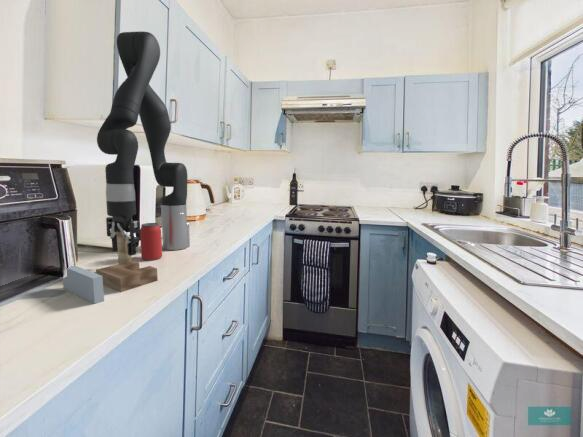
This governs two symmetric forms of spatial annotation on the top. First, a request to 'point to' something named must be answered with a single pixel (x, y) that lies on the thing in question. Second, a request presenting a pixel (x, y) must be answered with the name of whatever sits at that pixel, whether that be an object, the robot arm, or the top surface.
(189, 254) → the top surface
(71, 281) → the wall
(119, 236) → the dowel
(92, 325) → the top surface
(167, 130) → the robot arm
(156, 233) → the beer can
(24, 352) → the top surface
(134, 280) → the block
